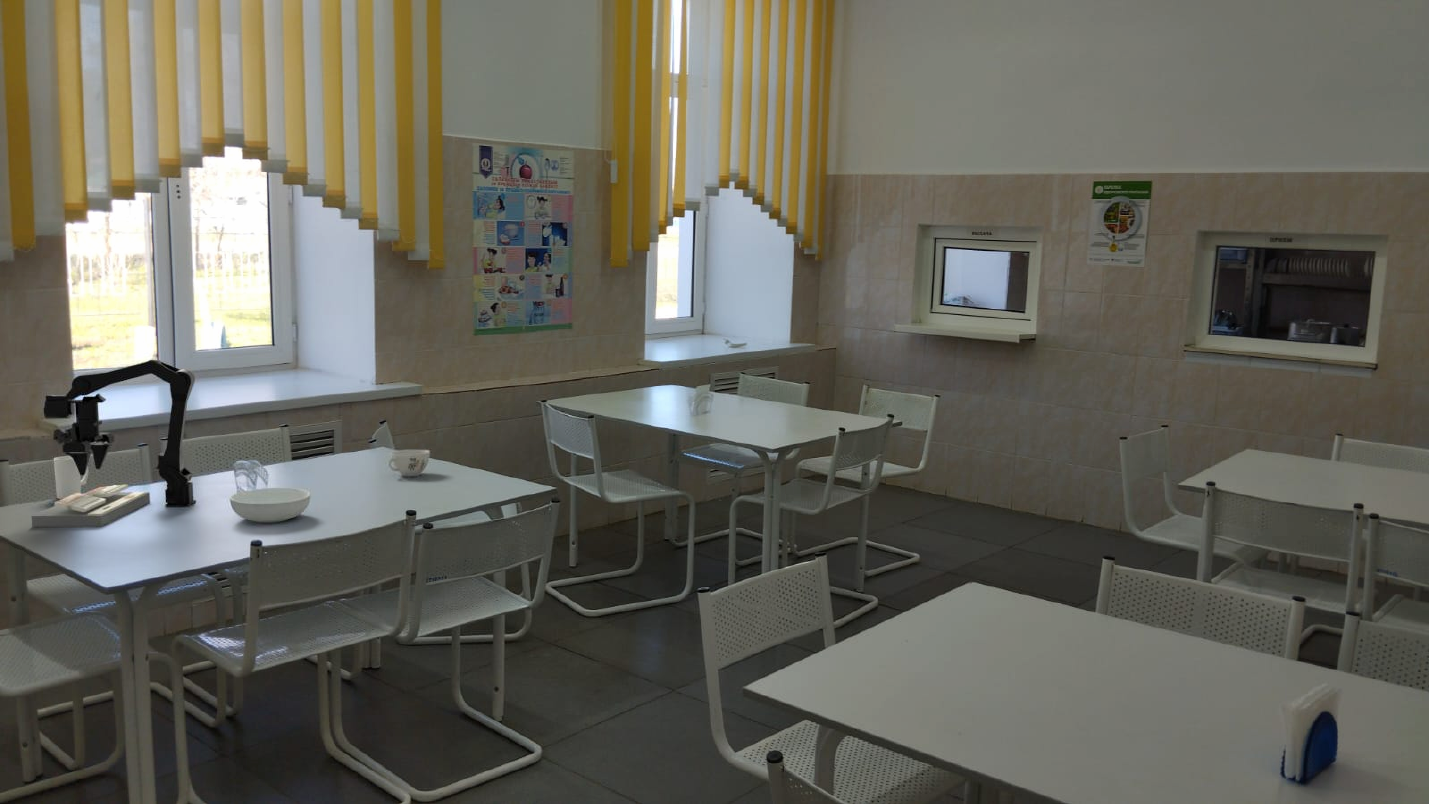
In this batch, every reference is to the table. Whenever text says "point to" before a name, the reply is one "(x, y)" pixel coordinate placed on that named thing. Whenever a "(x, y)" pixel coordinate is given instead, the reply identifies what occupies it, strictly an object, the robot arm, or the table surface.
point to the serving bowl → (270, 504)
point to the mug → (67, 477)
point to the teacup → (409, 461)
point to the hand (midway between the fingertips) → (90, 472)
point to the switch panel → (92, 512)
